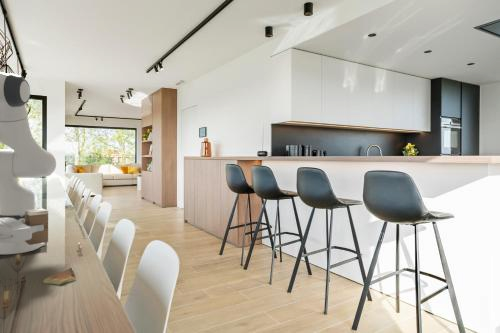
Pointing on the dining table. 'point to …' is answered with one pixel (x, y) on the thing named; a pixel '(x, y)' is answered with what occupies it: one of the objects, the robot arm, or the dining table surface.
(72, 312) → the dining table surface
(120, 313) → the dining table surface
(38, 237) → the wooden block
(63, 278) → the shard
